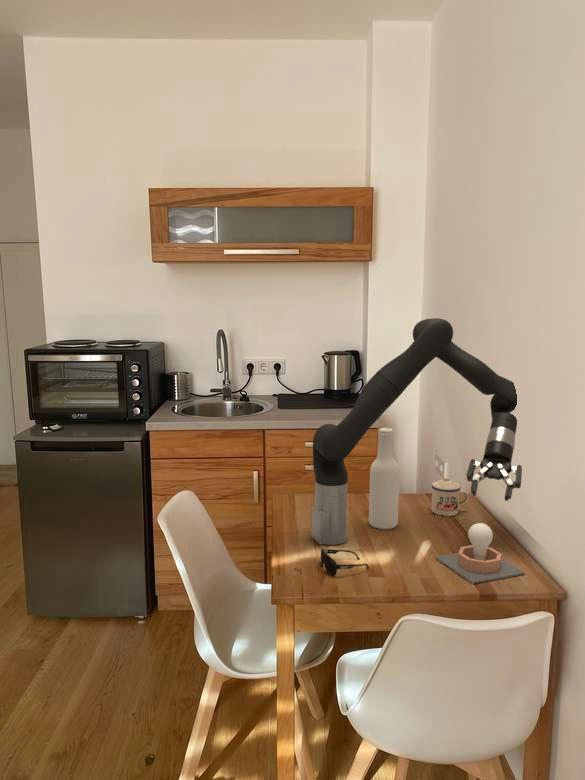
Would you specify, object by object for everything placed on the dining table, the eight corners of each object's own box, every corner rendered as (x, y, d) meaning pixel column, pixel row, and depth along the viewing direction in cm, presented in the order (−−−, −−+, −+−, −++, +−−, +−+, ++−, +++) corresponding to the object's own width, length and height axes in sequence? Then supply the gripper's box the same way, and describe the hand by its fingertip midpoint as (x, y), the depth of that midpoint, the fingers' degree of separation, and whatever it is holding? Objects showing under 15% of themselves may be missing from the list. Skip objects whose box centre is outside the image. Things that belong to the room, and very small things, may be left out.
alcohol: (395, 519, 200) (399, 426, 195) (399, 530, 191) (403, 432, 186) (367, 519, 200) (370, 425, 195) (369, 529, 191) (372, 432, 187)
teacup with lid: (434, 516, 203) (436, 481, 201) (427, 507, 212) (428, 473, 210) (471, 516, 203) (473, 481, 202) (463, 507, 212) (464, 473, 210)
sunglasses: (313, 562, 169) (316, 544, 168) (354, 561, 173) (357, 544, 172) (329, 579, 159) (332, 560, 158) (371, 578, 163) (374, 559, 162)
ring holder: (472, 584, 156) (473, 570, 156) (435, 558, 171) (436, 546, 170) (524, 574, 162) (525, 561, 161) (484, 550, 177) (485, 538, 176)
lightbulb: (494, 569, 164) (496, 528, 162) (470, 569, 164) (472, 528, 162) (487, 558, 170) (489, 519, 168) (464, 558, 170) (466, 519, 168)
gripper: (472, 436, 181) (461, 486, 173) (525, 442, 175) (516, 494, 167) (475, 450, 187) (465, 499, 179) (526, 456, 180) (518, 507, 172)
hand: (489, 496), depth 173 cm, fingers open, 8 cm apart
